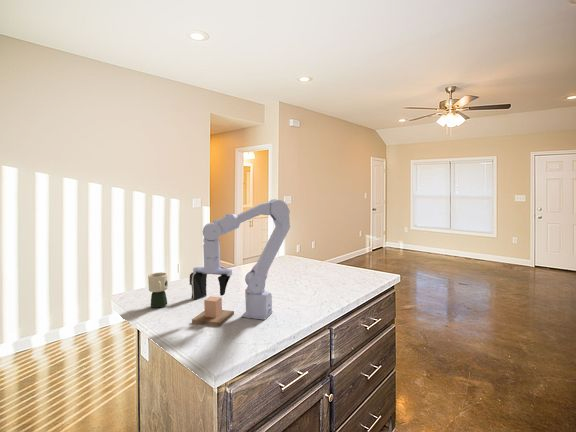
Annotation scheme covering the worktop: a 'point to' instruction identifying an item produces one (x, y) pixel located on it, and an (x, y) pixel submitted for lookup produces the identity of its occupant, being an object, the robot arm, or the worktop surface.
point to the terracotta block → (213, 307)
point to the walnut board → (213, 321)
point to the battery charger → (195, 288)
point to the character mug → (158, 289)
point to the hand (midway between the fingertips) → (213, 293)
